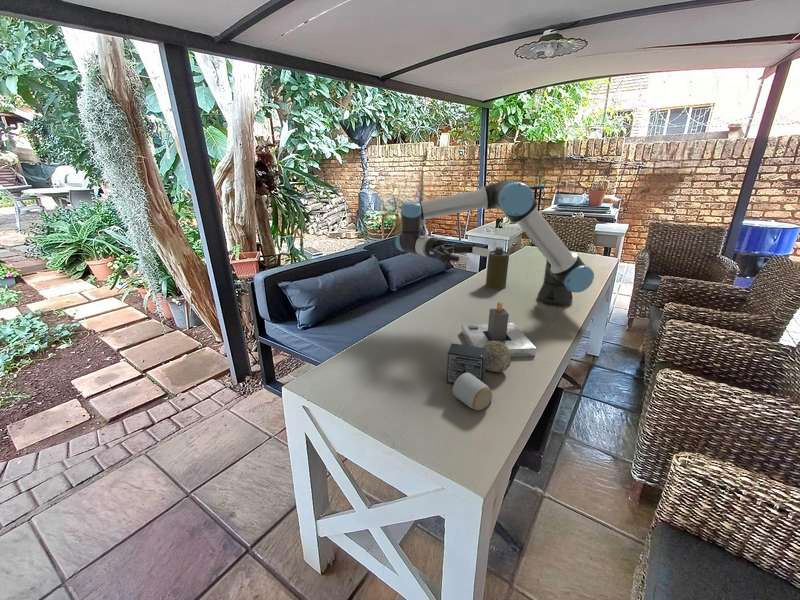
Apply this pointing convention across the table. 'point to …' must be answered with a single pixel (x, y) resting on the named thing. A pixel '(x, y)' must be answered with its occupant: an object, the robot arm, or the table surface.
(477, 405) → the white short cylinder
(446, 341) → the table surface
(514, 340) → the socket
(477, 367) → the small box
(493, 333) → the plug
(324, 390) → the table surface
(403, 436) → the table surface
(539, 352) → the table surface
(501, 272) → the canister
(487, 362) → the stone
